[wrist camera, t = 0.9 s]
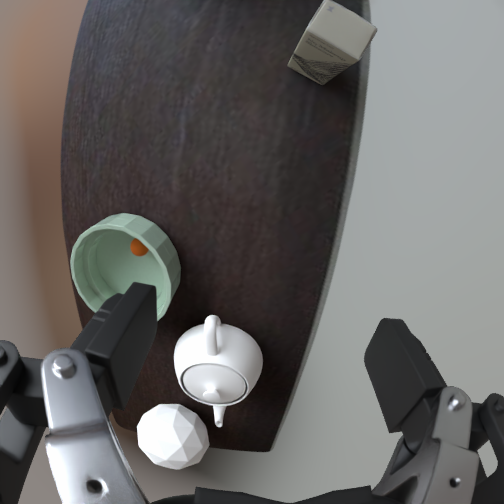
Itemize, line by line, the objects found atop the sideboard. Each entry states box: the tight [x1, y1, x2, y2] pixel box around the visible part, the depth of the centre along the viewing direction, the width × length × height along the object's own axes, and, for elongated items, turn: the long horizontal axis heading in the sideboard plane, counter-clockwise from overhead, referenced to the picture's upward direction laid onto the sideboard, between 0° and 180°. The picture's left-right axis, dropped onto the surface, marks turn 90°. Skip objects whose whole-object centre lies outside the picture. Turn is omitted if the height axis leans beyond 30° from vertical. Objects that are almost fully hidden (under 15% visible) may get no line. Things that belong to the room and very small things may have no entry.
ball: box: [130, 238, 149, 256], centre depth 35 cm, size 3×3×3 cm
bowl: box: [70, 213, 181, 321], centre depth 36 cm, size 15×15×6 cm
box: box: [288, 0, 377, 85], centre depth 21 cm, size 5×4×13 cm
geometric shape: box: [137, 404, 209, 470], centre depth 45 cm, size 14×15×15 cm
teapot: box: [174, 315, 263, 427], centre depth 39 cm, size 22×14×11 cm, turn 179°
